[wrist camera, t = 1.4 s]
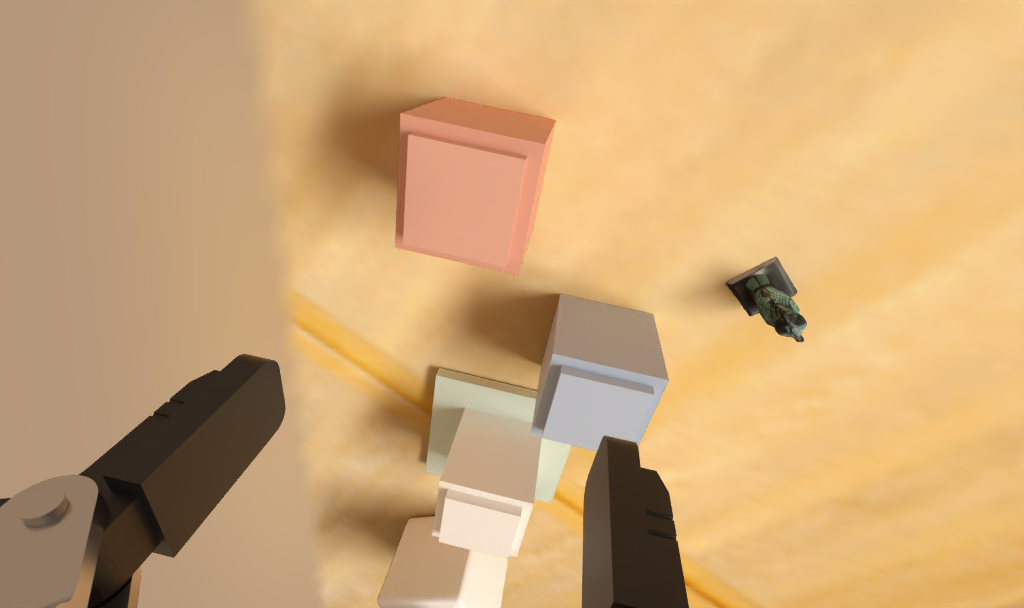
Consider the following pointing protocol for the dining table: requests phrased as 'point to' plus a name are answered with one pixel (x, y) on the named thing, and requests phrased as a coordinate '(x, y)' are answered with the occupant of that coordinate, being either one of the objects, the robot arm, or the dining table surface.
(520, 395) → the tower base
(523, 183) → the brick terracotta
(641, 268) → the dining table surface
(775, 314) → the sculpture
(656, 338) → the grey block
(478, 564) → the medicine bottle
